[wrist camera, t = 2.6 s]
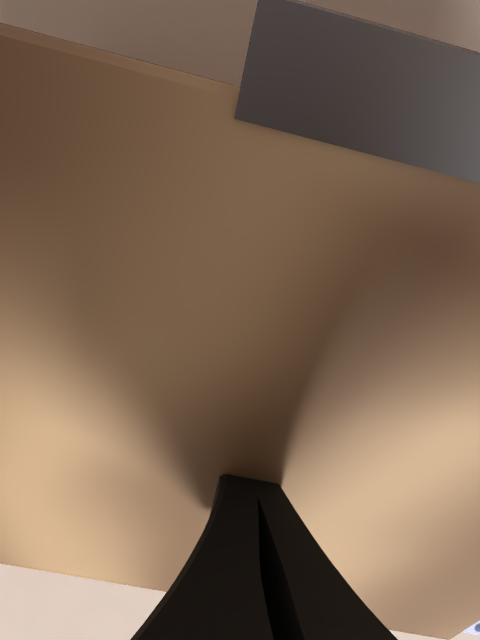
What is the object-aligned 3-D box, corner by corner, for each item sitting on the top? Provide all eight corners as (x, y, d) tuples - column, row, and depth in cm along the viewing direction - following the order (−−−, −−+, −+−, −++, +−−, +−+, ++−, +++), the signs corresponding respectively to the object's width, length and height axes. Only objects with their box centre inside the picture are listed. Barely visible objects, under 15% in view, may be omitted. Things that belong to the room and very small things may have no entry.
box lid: (1030, 211, 6) (1110, 236, 5) (443, 618, 15) (449, 643, 15) (-352, -186, 4) (-444, -209, 4) (-61, 531, 14) (-75, 554, 13)
